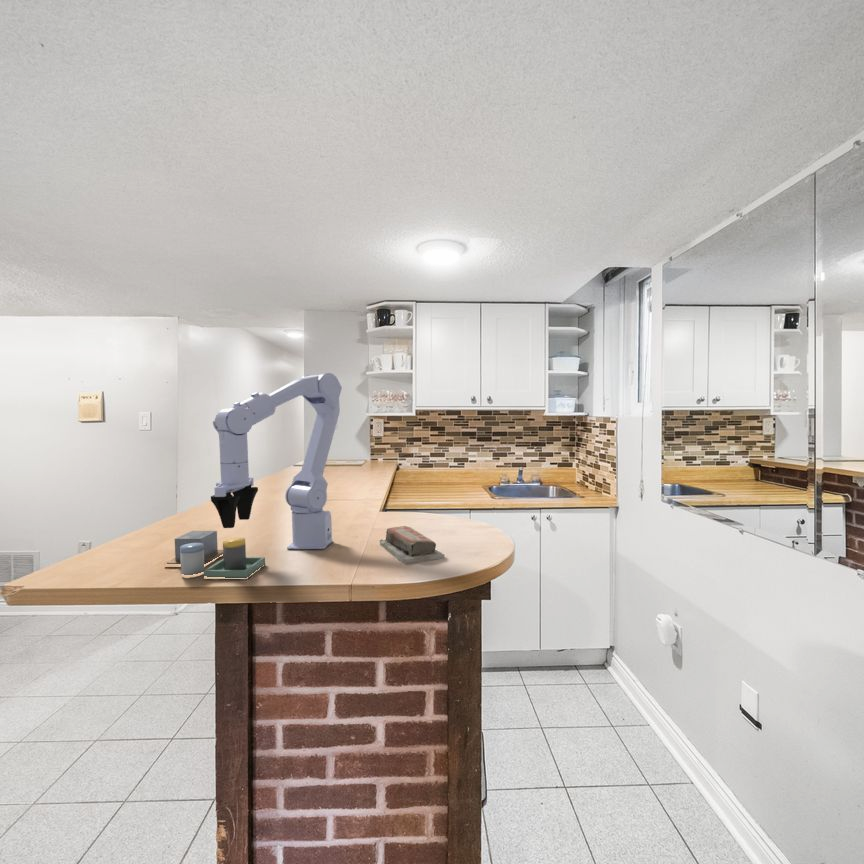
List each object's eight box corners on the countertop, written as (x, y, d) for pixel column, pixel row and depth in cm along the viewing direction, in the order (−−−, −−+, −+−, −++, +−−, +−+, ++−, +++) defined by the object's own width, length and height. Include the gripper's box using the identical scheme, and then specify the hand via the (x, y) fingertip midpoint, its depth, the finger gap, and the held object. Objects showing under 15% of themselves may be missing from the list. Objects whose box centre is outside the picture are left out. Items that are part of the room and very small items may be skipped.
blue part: (208, 571, 99) (207, 542, 99) (197, 578, 95) (196, 548, 95) (188, 571, 100) (187, 542, 99) (176, 578, 95) (175, 548, 95)
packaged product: (378, 527, 118) (414, 522, 122) (378, 546, 118) (414, 541, 122) (404, 544, 101) (444, 539, 105) (404, 566, 101) (445, 560, 106)
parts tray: (265, 565, 103) (265, 557, 103) (247, 579, 94) (246, 570, 94) (225, 565, 103) (225, 557, 103) (203, 579, 94) (203, 570, 94)
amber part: (250, 565, 100) (248, 537, 100) (240, 572, 96) (239, 543, 96) (230, 565, 101) (229, 537, 101) (219, 572, 96) (218, 543, 96)
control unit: (227, 553, 112) (226, 529, 112) (204, 567, 102) (203, 540, 102) (190, 553, 112) (189, 529, 112) (164, 567, 102) (163, 540, 102)
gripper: (231, 459, 110) (234, 516, 110) (199, 466, 95) (201, 532, 96) (261, 458, 110) (263, 515, 110) (232, 466, 95) (235, 531, 96)
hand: (236, 523), depth 103 cm, fingers open, 7 cm apart
